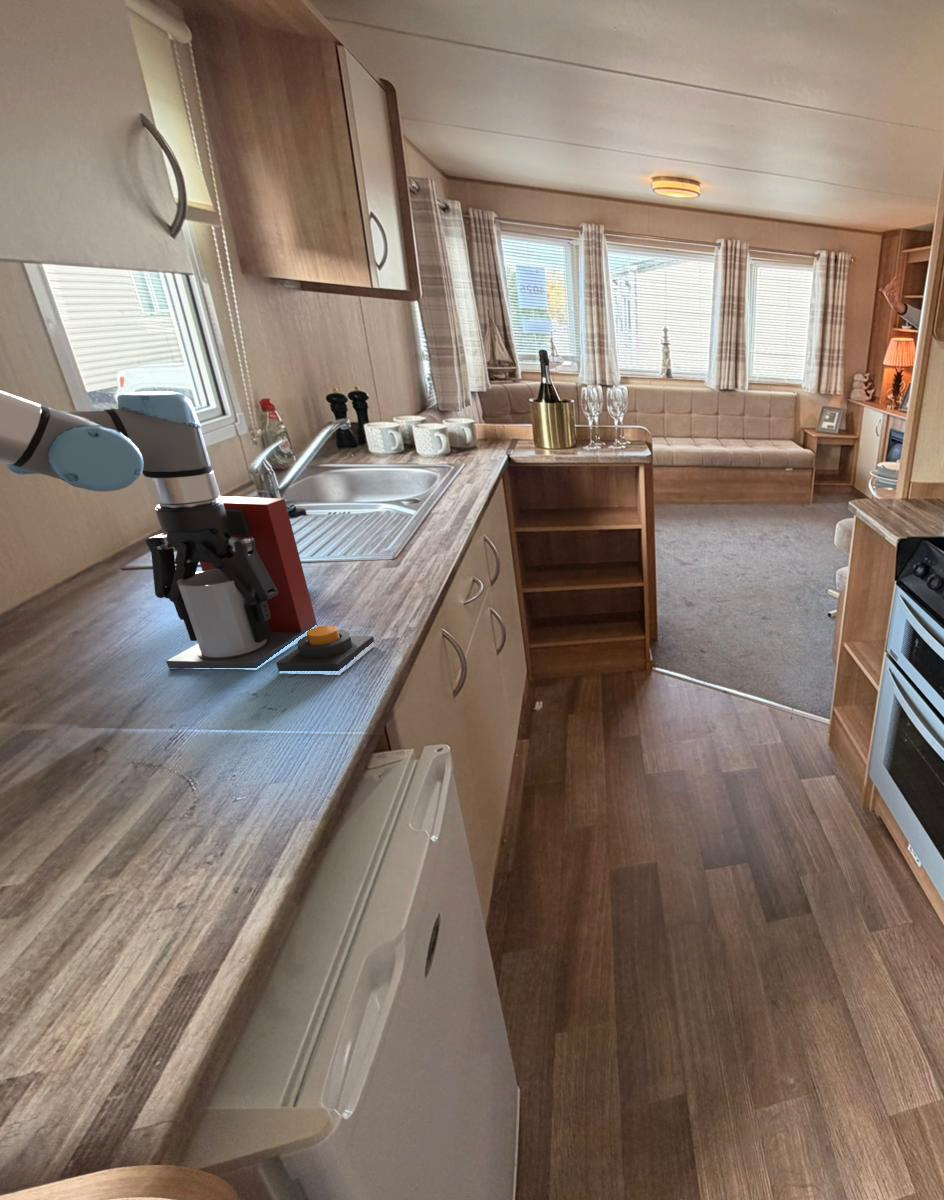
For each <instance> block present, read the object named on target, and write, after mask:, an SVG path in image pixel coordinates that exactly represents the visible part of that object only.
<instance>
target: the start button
mask: <svg viewBox="0 0 944 1200" xmlns="http://www.w3.org/2000/svg"><path fill="white" fill-rule="evenodd" d="M338 630H339V629H338V627H337V626H335V625H321V626H318V627H317V628H314V629H311V630H309V631H308V632H307V636H308V640H309V643H310V645H323V644H329V643H332V642H335V641H337V640H339V639H340V637H339V633H338Z"/></svg>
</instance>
